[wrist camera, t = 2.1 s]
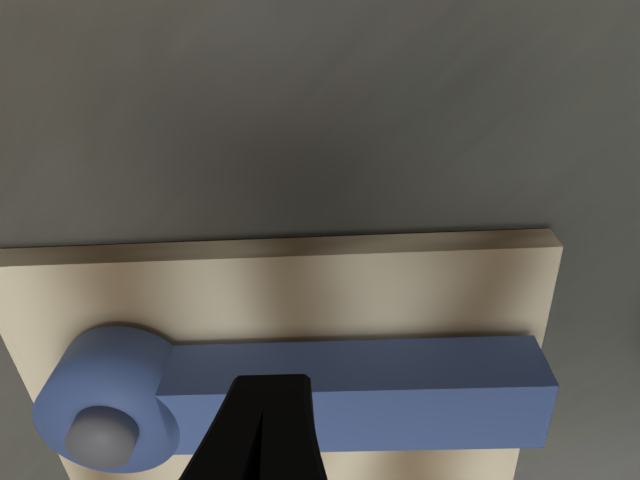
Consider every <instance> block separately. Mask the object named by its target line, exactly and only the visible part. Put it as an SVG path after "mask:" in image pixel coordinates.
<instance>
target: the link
mask: <svg viewBox="0 0 640 480" xmlns="http://www.w3.org/2000/svg"><path fill="white" fill-rule="evenodd" d="M273 374H305V375H307V376H308V377H310V378H311V388H312V399H313V410H314V422H315V431H316V436H317V441H318V445H319V449H320V452H356V451H409V450H462V449H514V448H544V444H545V440H546V436H547V432H548V428H549V424H550V420H551V416H552V412H553V408H554V405H555V401H556V397H557V393H558V389H559V385H558V383H557V381H556V379H555V377H554V375H553V373H552V371H551V369H550V367H549V364H548V362H547V360H546V358H545V356H544V354H543V352H542V350H541V348H540V346H539V344H538V342H537V340H536V338H535V336H534V335H526V336H490V337H455V338H420V339H384V340H349V341H314V342H278V343H243V344H208V345H172V344H171V343H169V342H168V341H166V340H165V339H163V338H161V337H159V336H157V335H155V334H153V333H150V332H147V331H144V330H141V329H137V328H132V327H124V326H108V327H101V328H96V329H93V330H90V331H87V332H85V333H83V334H81V335H80V336H78V337H77V338H76V339H74V340H73V341H72V342H71V344H70V345H69V346H68V348H67V349H66V351H65V353H64V354H63V356H62V357H61V359H60V361H59V362H58V364H57V365H56V367H55V369H54V370H53V372H52V373H51V375H50V377H49V378H48V380H47V382H46V383H45V385H44V386H43V388H42V390H41V391H40V393H39V394H38V396H37V398H36V400H35V402H34V404H33V409H32V417H33V422H34V425H35V428H36V430H37V432H38V433H39V435H40V436H41V438H42V439H43V440H44V441H45V443H46V444H47V445H48V446H50V447H51V448H52V449H53V450H54V451H56V452H57V453H58V454H60V455H61V456H63V457H64V458H66V459H68V460H70V461H72V462H74V463H76V464H79V465H81V466H84V467H87V468H90V469H94V470H97V471H103V472H109V473H136V472H142V471H146V470H150V469H153V468H155V467H158V466H159V465H161V464H163V463H164V462H166V461H167V460H169V459H170V458H171V457H172V456H173V455H194V453H195V451H196V450H197V448H198V446H199V445H200V443H201V441H202V439H203V438H204V436H205V434H206V432H207V430H208V429H209V427H210V425H211V423H212V422H213V420H214V418H215V416H216V414H217V412H218V410H219V408H220V406H221V404H222V402H223V400H224V399H225V397H226V395H227V392H228V390H229V388H230V386H231V384H232V382H233V380H234V379H235V378H236V377H237V376H238V375H273Z"/></svg>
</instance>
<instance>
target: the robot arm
mask: <svg viewBox="0 0 640 480" xmlns="http://www.w3.org/2000/svg"><path fill="white" fill-rule="evenodd" d="M178 480H328V479H327V475H326V472H325V468H324V464H323V461H322V457H321V454H320V449H319V445H318V441H317V436H316V431H315V422H314V410H313V399H312V388H311V378H310V377H308V376H307V375H305V374H273V375H238V376H237V377H236V378H235V379H234V380H233V382H232V384H231V386H230V388H229V390H228V392H227V395H226V397H225V399H224V400H223V402H222V404H221V406H220V408H219V410H218V412H217V414H216V416H215V418H214V420H213V422H212V423H211V425H210V427H209V429H208V430H207V432H206V434H205V436H204V438H203V439H202V441H201V443H200V445H199V446H198V448H197V450H196V451H195V453H194V455H193V456H192V458H191V460H190V461H189V463H188V465H187V466H186V468H185V470H184V471H183V473H182V475H181V476H180V478H179V479H178Z"/></svg>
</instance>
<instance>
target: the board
mask: <svg viewBox="0 0 640 480" xmlns="http://www.w3.org/2000/svg"><path fill="white" fill-rule="evenodd" d="M562 251H563V245H562V244H561V243H560V241H559V240H558V238H557V237H556V236H555V234H554V233H553V231H552V230H551V229H550V228H548V229H521V230H494V231H467V232H440V233H413V234H386V235H359V236H332V237H305V238H278V239H251V240H224V241H198V242H171V243H144V244H117V245H90V246H63V247H36V248H9V249H0V334H1V336H2V338H3V340H4V342H5V345H6V347H7V349H8V351H9V353H10V355H11V357H12V359H13V361H14V363H15V365H16V367H17V369H18V372H19V374H20V376H21V378H22V380H23V382H24V384H25V386H26V388H27V390H28V392H29V394H30V397H31V399H32V401H33V403H34V402H35V400H36V398H37V396H38V394H39V393H40V391H41V390H42V388H43V386H44V385H45V383H46V382H47V380H48V378H49V377H50V375H51V373H52V372H53V370H54V369H55V367H56V365H57V364H58V362H59V361H60V359H61V357H62V356H63V354H64V353H65V351H66V349H67V348H68V346H69V345H70V344H71V342H72V341H73V340H74V339H76V338H77V337H78V336H80V335H81V334H83V333H85V332H87V331H90V330H93V329H96V328H101V327H108V326H124V327H132V328H137V329H141V330H144V331H147V332H150V333H153V334H155V335H157V336H159V337H161V338H163V339H165V340H166V341H168V342H169V343H171V344H172V345H208V344H243V343H278V342H314V341H349V340H384V339H420V338H455V337H490V336H526V335H534V336H535V338H536V340H537V342H538V344H539V346H540V348H542V344H543V339H544V334H545V330H546V325H547V320H548V316H549V311H550V307H551V302H552V297H553V293H554V288H555V283H556V279H557V274H558V270H559V265H560V260H561V256H562ZM519 450H520V448H514V449H462V450H409V451H356V452H320V454H321V457H322V461H323V464H324V468H325V472H326V475H327V479H328V480H513V478H514V473H515V468H516V464H517V459H518V454H519ZM58 455H59V457H60V459H61V461H62V463H63V465H64V467H65V469H66V471H67V473H68V475H69V478H70V480H178V479H179V478H180V476H181V475H182V473H183V471H184V470H185V468H186V466H187V465H188V463H189V461H190V460H191V458H192V456H193V455H173V456H172V457H171V458H170V459H169V460H167V461H166V462H164V463H163V464H161V465H159V466H158V467H155V468H153V469H150V470H146V471H142V472H136V473H109V472H103V471H97V470H94V469H90V468H87V467H84V466H81V465H79V464H76V463H74V462H72V461H70V460H68V459H66V458H64V457H63V456H61V455H60V454H58Z"/></svg>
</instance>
